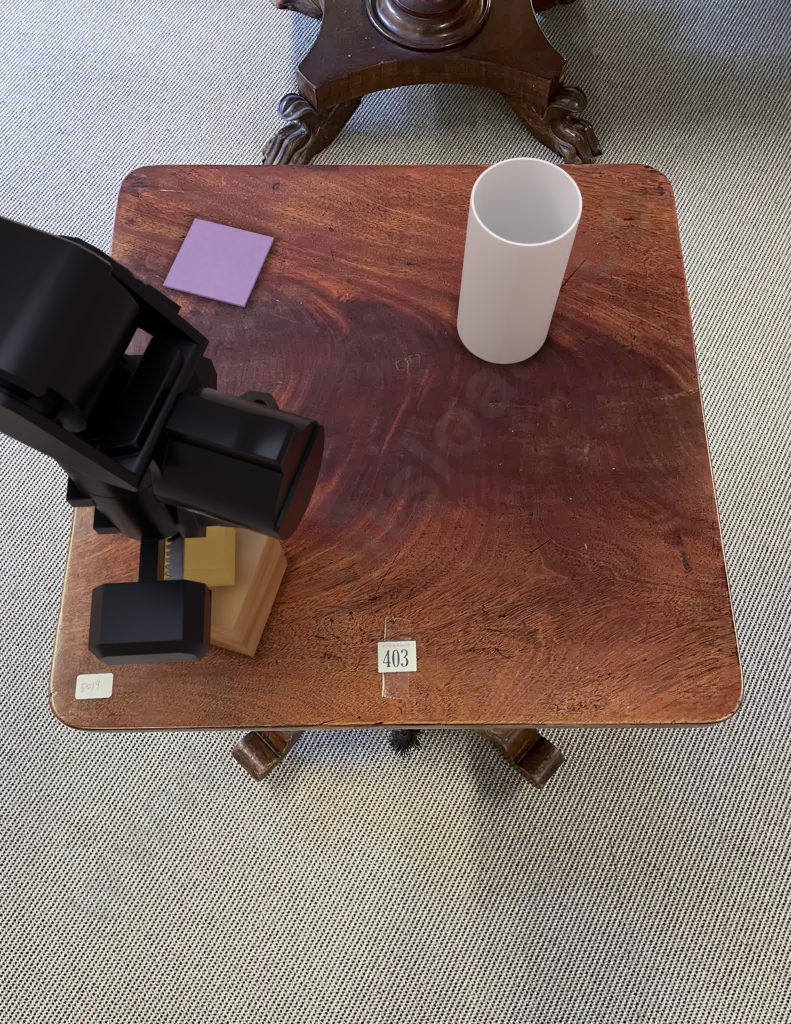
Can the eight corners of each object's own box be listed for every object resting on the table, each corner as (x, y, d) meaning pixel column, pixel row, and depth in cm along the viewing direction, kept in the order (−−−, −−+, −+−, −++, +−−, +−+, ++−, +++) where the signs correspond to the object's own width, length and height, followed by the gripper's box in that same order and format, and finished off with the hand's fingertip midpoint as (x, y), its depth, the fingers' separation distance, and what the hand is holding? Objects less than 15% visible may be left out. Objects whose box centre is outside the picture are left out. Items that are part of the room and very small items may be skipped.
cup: (551, 292, 79) (586, 163, 64) (543, 369, 76) (578, 252, 61) (462, 281, 79) (477, 151, 64) (451, 357, 76) (463, 239, 62)
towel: (163, 286, 79) (162, 284, 79) (195, 220, 82) (195, 217, 82) (244, 307, 78) (244, 306, 78) (274, 239, 81) (274, 237, 81)
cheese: (162, 589, 59) (146, 572, 56) (165, 535, 61) (149, 514, 57) (234, 585, 59) (223, 568, 56) (235, 531, 61) (225, 510, 57)
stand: (158, 628, 68) (124, 596, 59) (196, 536, 70) (168, 494, 62) (253, 657, 67) (232, 629, 58) (288, 563, 69) (272, 524, 61)
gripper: (281, 618, 40) (312, 679, 54) (279, 283, 47) (307, 417, 61) (39, 630, 40) (136, 689, 54) (73, 293, 46) (150, 425, 61)
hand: (189, 547), depth 58 cm, fingers open, 9 cm apart
